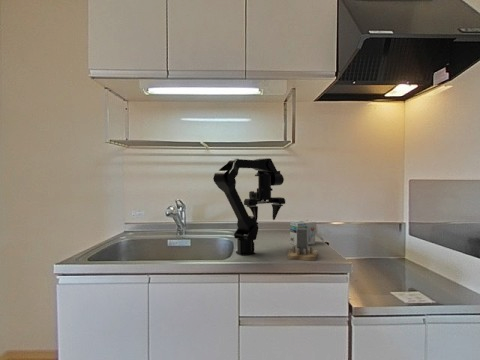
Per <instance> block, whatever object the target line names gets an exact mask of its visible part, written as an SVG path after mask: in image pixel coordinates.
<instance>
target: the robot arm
mask: <svg viewBox="0 0 480 360" xmlns="http://www.w3.org/2000/svg"><path fill="white" fill-rule="evenodd" d="M240 169H252V170H254V171H257V172H256V173H255V174H254V177H257V179H258V183H257V184H258V188H256V192H255V191H254V190H251V191H249V192H248V196H249V198H245V199H244V200H243V201H242V199H241V196H240V195H239V193H238V191H237V189H236V184H237V180H236V177H237V176H238V174H239V170H240ZM284 181H285V178H284V176H283V174H281V170H277V167H276V166H275V164H274V162H273V160H272V158H269V157H267V158H256V159H240V158H230V159H229V160H227V162H226V163H225V164H224V165H222V166H221V167H219V169H218V170H217V171H215V173H214V175H213V182H214V184H215V185H216V186H217V188H218V189H220V190H221V191H222V192H223V193H224V195H225V197H226V199H227V201H228V203H229V204H230V206H231V207H230V208H231V209H232V211H233V212H234V214H235V217H236V219H237V223H236V226H237V229H236V230H235V232H234V233H233V237H234V239H236V241H237V245H236V246H237V248H236V249H237V250H236V251H235V253H236V254H238V255H240V256H246V255H255V254H256V252H255V242H254V241H256V240H257V238H258V237H257V236H258V232H259V222H258V214H259V211H258V210H259V206H257V205H263V204H270V205H271V207H272V220H273V221H274V220H276V217H277V215H278V213H279V211H280V209H281V207H284V205H285V204H286V199H285V197H280V196H278V197H272V191H273V188H272V187H273V186H281V185H283V183H284ZM245 206H246V207H247V208H249V209H250V211H251V213H252V215H249V214H248V211H247V209H246V208H245Z"/></svg>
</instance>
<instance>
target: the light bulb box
mask: <svg viewBox="0 0 480 360" xmlns="http://www.w3.org/2000/svg"><path fill="white" fill-rule="evenodd" d="M289 225H290V226H289V228H290V229H289V230H290V231H289V232H290V233H289V239H290V240H289V241H290V242H289V244H291V245H294V246H297V229H298V228H308V245H316V221H312V220H308V219H307V220H297V221H290V222H289Z"/></svg>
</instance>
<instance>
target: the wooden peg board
mask: <svg viewBox="0 0 480 360" xmlns="http://www.w3.org/2000/svg"><path fill="white" fill-rule="evenodd" d="M317 256H318V250H316V249H314V250H313V246H310V247H309V249H308V253H307V254H306V249H304V254H300V249H299V248H297V247H296V245H294V246H292V249H290V250H289V252H288V254H287V255H286V258H287V259H286V260H301V261H316V259H317Z"/></svg>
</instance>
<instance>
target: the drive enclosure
mask: <svg viewBox="0 0 480 360" xmlns="http://www.w3.org/2000/svg"><path fill="white" fill-rule="evenodd" d="M297 248H299V249H300V254H304V249H306V254H307V253H308V250H309V244H308V228H298V229H297V245H296V249H297Z"/></svg>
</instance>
